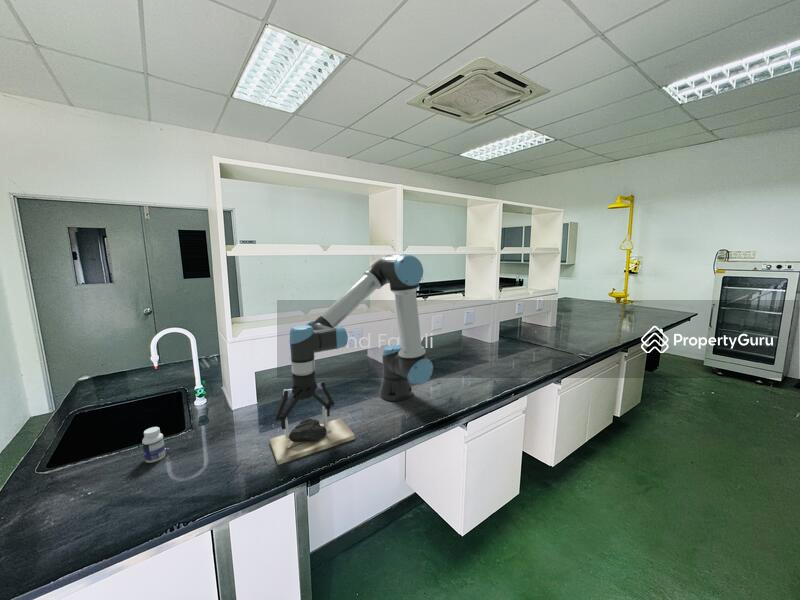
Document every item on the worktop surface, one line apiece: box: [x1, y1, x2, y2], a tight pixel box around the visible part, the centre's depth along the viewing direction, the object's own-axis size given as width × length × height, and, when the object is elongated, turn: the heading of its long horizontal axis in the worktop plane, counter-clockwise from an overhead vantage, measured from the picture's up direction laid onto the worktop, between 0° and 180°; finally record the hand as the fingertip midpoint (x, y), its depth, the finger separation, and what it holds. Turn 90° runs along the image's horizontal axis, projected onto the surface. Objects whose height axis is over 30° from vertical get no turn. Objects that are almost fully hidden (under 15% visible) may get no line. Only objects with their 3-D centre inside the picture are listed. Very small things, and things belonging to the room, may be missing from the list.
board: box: [268, 418, 356, 466], centre depth 111 cm, size 26×14×2 cm, turn 122°
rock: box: [289, 418, 327, 442], centre depth 109 cm, size 10×6×10 cm
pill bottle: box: [141, 426, 166, 464], centre depth 102 cm, size 5×5×10 cm
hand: (306, 431), depth 110 cm, fingers closed on rock, 13 cm apart
